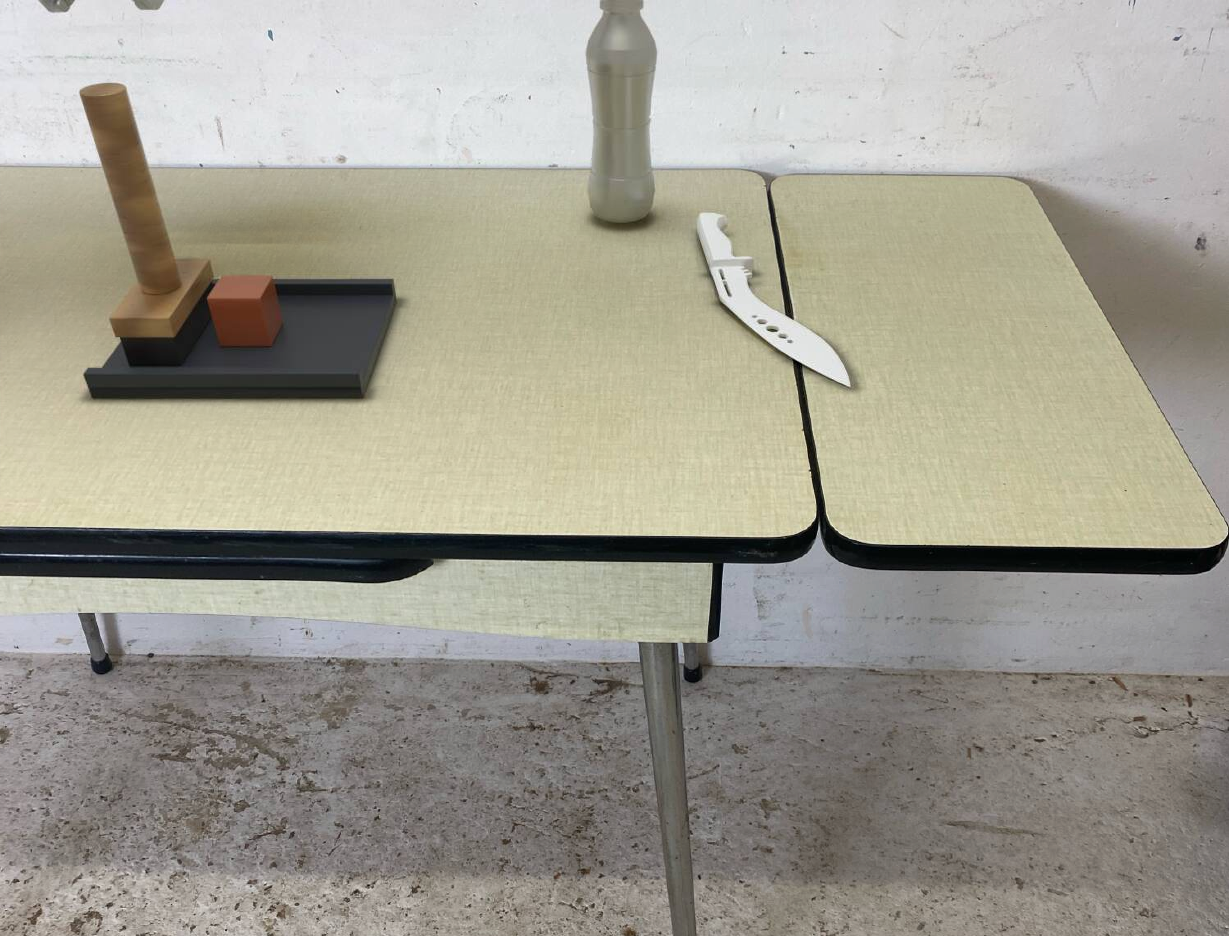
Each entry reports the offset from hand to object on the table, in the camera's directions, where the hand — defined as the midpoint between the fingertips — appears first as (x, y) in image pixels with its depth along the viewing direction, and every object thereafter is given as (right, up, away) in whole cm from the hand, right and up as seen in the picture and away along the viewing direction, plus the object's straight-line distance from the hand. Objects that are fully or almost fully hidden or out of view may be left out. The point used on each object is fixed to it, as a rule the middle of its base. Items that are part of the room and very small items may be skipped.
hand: (93, 3), depth 74 cm
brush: (+1, -20, +11) cm, 23 cm away
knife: (+48, -16, +17) cm, 54 cm away
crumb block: (+7, -20, +10) cm, 24 cm away
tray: (+7, -21, +11) cm, 25 cm away
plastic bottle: (+37, -4, +31) cm, 48 cm away
